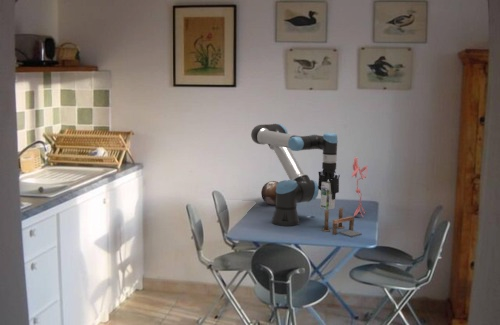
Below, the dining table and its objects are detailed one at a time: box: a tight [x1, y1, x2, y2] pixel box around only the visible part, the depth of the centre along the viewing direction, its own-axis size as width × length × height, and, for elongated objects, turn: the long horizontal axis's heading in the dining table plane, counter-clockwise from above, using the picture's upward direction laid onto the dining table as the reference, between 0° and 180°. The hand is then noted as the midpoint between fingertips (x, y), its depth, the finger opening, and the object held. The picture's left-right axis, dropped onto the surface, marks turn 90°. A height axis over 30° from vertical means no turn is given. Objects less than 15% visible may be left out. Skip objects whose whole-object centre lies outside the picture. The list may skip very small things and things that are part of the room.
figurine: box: [344, 156, 368, 218], centre depth 354 cm, size 15×26×35 cm, turn 163°
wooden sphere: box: [261, 180, 279, 206], centre depth 377 cm, size 15×15×15 cm
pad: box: [339, 229, 362, 238], centre depth 313 cm, size 8×8×1 cm
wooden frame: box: [321, 207, 355, 235], centre depth 320 cm, size 10×15×11 cm, turn 129°
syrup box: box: [320, 180, 336, 211], centre depth 324 cm, size 6×6×14 cm
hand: (327, 204), depth 324 cm, fingers closed on syrup box, 6 cm apart
